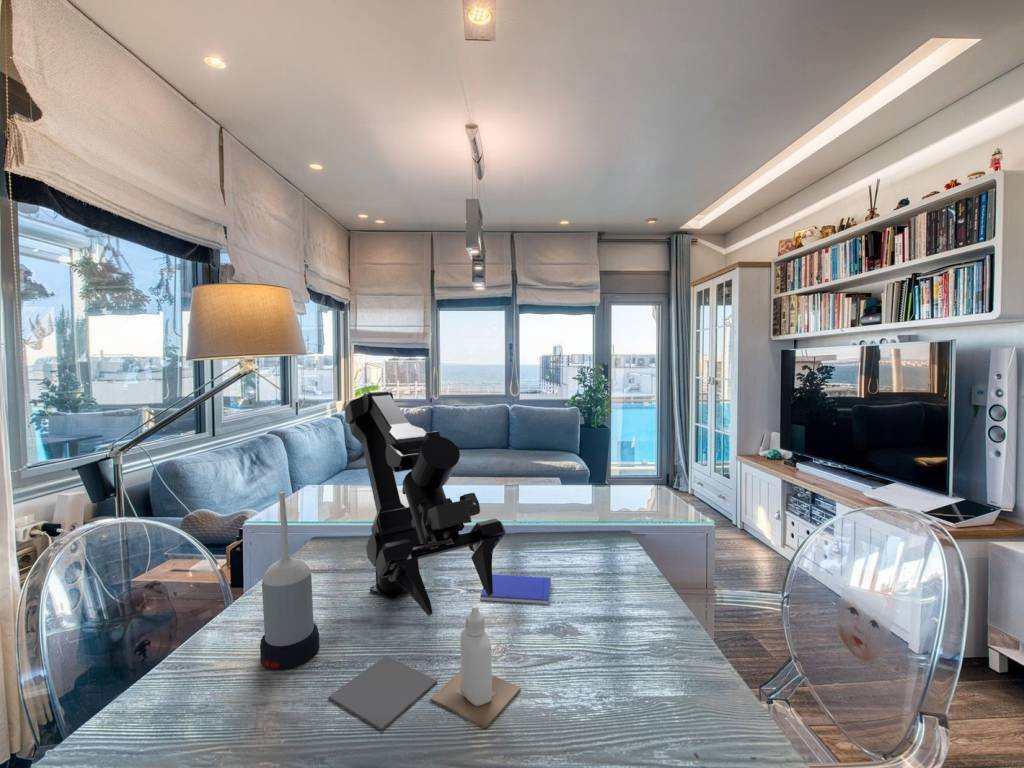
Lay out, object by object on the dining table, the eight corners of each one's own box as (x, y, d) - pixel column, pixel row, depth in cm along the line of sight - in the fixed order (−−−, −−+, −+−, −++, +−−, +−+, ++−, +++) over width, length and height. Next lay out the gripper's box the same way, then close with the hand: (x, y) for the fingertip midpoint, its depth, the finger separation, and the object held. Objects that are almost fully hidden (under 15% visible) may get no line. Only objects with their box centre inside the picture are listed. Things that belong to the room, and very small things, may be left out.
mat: (328, 698, 65) (328, 696, 65) (386, 657, 74) (386, 655, 74) (381, 730, 60) (381, 728, 60) (437, 682, 68) (436, 680, 68)
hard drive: (480, 594, 90) (548, 598, 88) (487, 572, 98) (550, 576, 96) (480, 602, 90) (548, 606, 88) (487, 580, 98) (550, 584, 97)
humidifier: (257, 677, 70) (247, 504, 67) (263, 643, 77) (254, 487, 75) (319, 662, 73) (312, 496, 70) (319, 631, 80) (312, 481, 78)
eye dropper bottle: (493, 677, 69) (492, 595, 68) (491, 708, 63) (490, 618, 62) (462, 677, 69) (460, 595, 68) (457, 708, 63) (455, 618, 62)
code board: (430, 700, 65) (430, 697, 65) (467, 665, 72) (467, 663, 72) (485, 729, 60) (485, 726, 60) (520, 689, 67) (520, 687, 67)
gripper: (378, 487, 66) (410, 602, 58) (498, 467, 76) (540, 563, 68) (364, 525, 74) (390, 633, 65) (475, 503, 84) (510, 593, 75)
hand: (461, 604), depth 68 cm, fingers open, 9 cm apart
